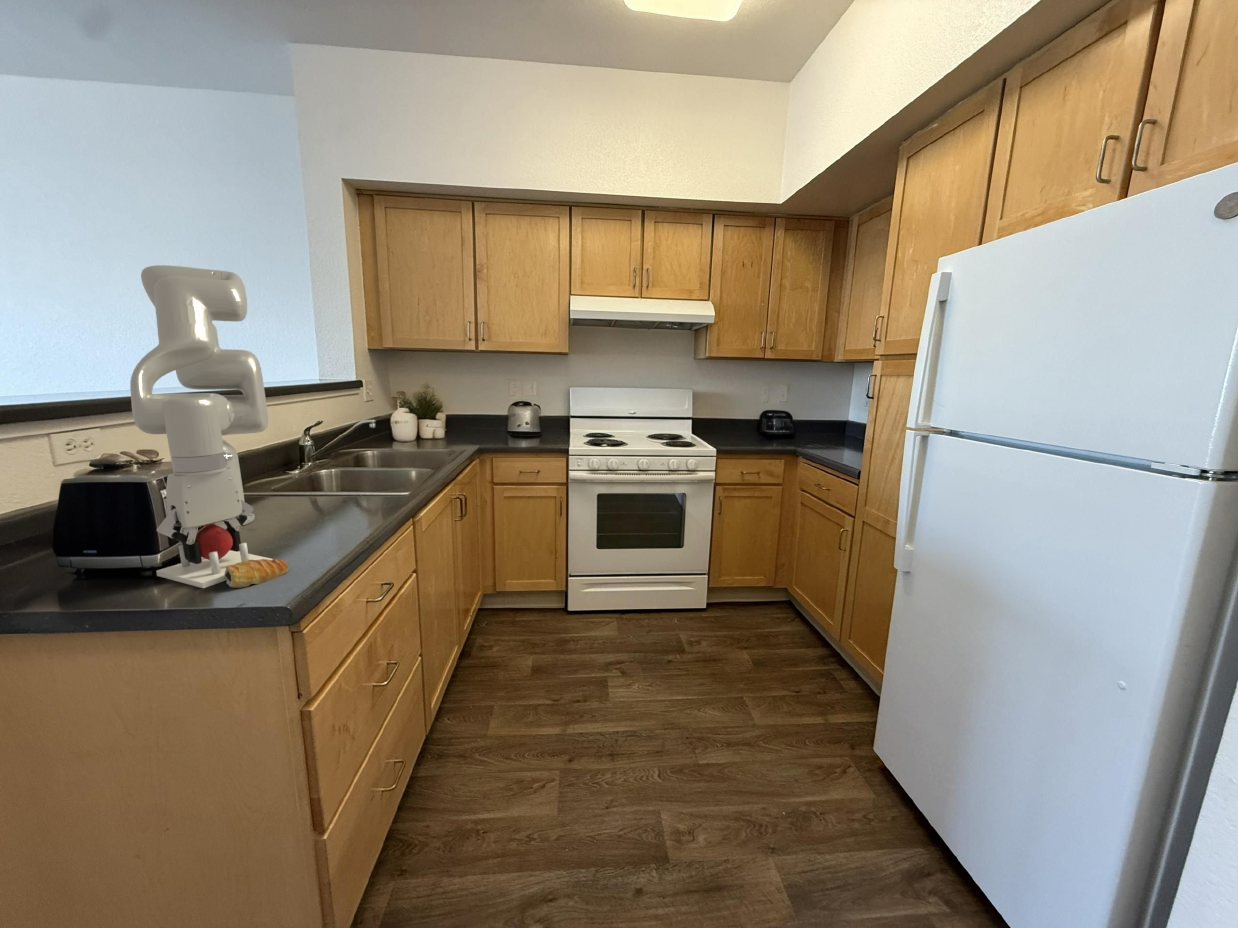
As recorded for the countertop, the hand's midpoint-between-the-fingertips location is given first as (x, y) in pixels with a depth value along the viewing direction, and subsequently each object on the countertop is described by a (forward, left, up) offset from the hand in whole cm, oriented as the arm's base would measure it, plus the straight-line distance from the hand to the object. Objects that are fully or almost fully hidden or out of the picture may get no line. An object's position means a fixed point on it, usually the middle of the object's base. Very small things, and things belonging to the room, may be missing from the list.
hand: (214, 555), depth 93 cm
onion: (0, 0, -1) cm, 1 cm away
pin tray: (0, 0, -3) cm, 3 cm away
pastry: (+11, 0, -3) cm, 12 cm away
